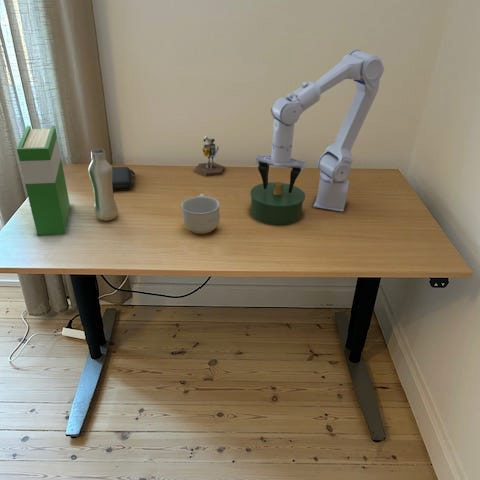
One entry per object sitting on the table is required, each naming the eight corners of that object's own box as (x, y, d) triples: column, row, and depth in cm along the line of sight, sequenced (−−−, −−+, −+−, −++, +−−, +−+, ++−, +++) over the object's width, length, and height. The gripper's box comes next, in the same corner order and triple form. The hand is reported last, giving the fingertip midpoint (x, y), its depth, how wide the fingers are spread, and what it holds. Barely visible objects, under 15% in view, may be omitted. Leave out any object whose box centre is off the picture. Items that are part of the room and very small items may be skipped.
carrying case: (136, 191, 162) (134, 173, 173) (135, 182, 160) (133, 164, 171) (103, 192, 160) (103, 174, 171) (101, 183, 158) (102, 165, 169)
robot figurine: (230, 171, 178) (231, 137, 170) (212, 178, 172) (212, 144, 165) (208, 162, 183) (208, 129, 176) (190, 169, 178) (189, 135, 170)
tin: (304, 206, 158) (307, 189, 155) (295, 228, 147) (297, 211, 143) (257, 198, 161) (258, 182, 158) (244, 220, 150) (245, 202, 146)
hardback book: (44, 206, 151) (26, 125, 136) (69, 205, 152) (55, 125, 137) (37, 235, 137) (16, 149, 122) (65, 233, 139) (48, 148, 124)
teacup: (214, 240, 139) (214, 214, 134) (177, 235, 141) (176, 209, 136) (225, 218, 150) (226, 193, 145) (190, 213, 151) (190, 188, 146)
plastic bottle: (122, 215, 148) (115, 149, 136) (109, 225, 143) (99, 157, 131) (105, 210, 150) (95, 145, 138) (90, 220, 145) (80, 152, 133)
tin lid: (307, 189, 156) (309, 176, 153) (300, 213, 144) (302, 199, 141) (256, 182, 159) (257, 169, 156) (244, 205, 146) (245, 191, 143)
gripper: (253, 145, 139) (251, 191, 147) (304, 152, 136) (299, 198, 145) (260, 137, 144) (257, 181, 153) (309, 144, 141) (303, 189, 150)
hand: (277, 189), depth 149 cm, fingers open, 7 cm apart
